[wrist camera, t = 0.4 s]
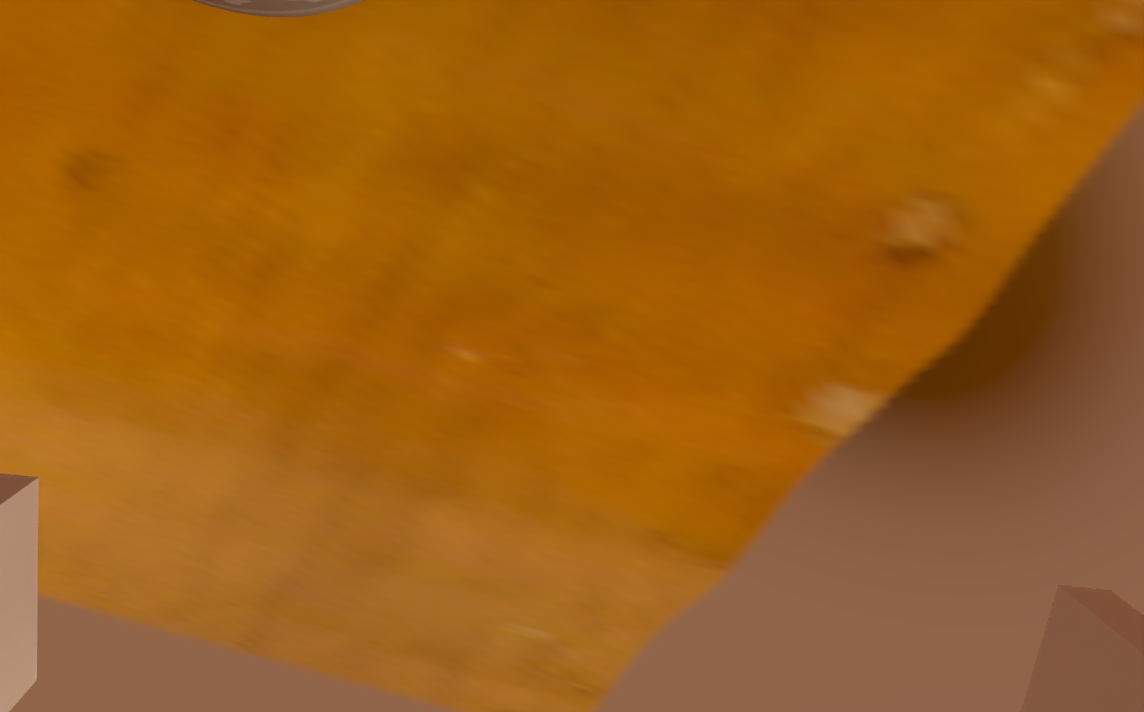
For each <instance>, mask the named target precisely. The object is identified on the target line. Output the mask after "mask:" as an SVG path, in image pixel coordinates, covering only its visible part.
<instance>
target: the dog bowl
mask: <svg viewBox="0 0 1144 712" xmlns="http://www.w3.org/2000/svg"><path fill="white" fill-rule="evenodd" d="M194 1H197V2H200V3H203V4H206V5H209V6H213V7H217V8H221V9H224V10H228V11H233V12H238V13H243V14H250V15H257V16H267V17H299V16H309V15H316V14H322V13H327V12H331V11H336V10H339V9H342V8H345V7H348V6H351V5H354V4H356V3H359V2H361V1H363V0H194Z"/></svg>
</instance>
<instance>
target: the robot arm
mask: <svg viewBox="0 0 1144 712" xmlns="http://www.w3.org/2000/svg"><path fill="white" fill-rule="evenodd" d="M37 581H38V477H29V476H19V475H10V474H0V712H9V711H10V710H11V709H12V708H13V706H14V705H15V704H16V703H17V701H19V699H20V698H21V697H22V696H23V695H24V694H25V693H26V692H27V690H28V689H29V688H30V687H31V686H32V684H33V683H34V682H35V681H36V680H37ZM1021 712H1144V615H1143V614H1141V613H1140V612H1139V611H1137V610H1136V609H1135V608H1133V607H1132V606H1131V605H1129V604H1128V603H1127V602H1125V601H1124V600H1123V599H1121V598H1120V597H1119V596H1117V595H1116V594H1115V593H1113V592H1112V591H1110V590H1101V589H1091V588H1082V587H1072V586H1063V585H1058V588H1057V591H1056V594H1055V598H1054V601H1053V605H1052V608H1051V612H1050V615H1049V618H1048V621H1047V625H1046V628H1045V632H1044V635H1043V638H1042V642H1041V645H1040V648H1039V652H1038V655H1037V659H1036V662H1035V666H1034V669H1033V672H1032V676H1031V679H1030V682H1029V686H1028V689H1027V692H1026V696H1025V699H1024V703H1023V706H1022V710H1021Z"/></svg>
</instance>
